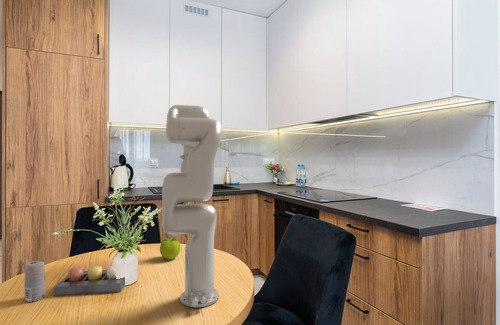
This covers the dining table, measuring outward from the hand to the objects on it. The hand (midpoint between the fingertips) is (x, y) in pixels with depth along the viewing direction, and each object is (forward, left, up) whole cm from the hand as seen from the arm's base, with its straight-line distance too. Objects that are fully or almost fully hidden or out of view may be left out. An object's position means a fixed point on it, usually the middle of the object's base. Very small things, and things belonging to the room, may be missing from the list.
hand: (191, 194), depth 139 cm
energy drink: (-34, +50, -30) cm, 67 cm away
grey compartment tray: (-26, +34, -30) cm, 52 cm away
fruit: (-1, +10, -30) cm, 31 cm away
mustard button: (-26, +34, -27) cm, 51 cm away
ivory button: (-26, +27, -27) cm, 47 cm away
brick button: (-26, +40, -27) cm, 55 cm away
